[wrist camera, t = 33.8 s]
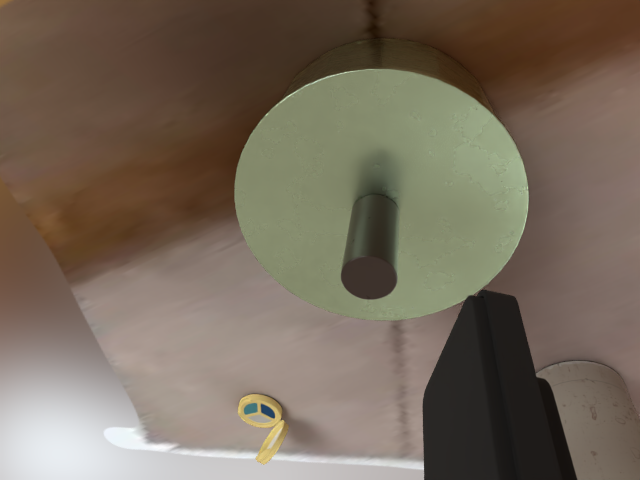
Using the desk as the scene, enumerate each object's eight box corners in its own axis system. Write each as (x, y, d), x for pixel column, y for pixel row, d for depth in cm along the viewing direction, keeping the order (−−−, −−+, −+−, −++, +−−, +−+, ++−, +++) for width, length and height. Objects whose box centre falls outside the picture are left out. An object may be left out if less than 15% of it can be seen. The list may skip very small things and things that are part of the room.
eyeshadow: (251, 388, 50) (237, 432, 46) (295, 410, 51) (285, 455, 47) (232, 409, 52) (217, 453, 48) (274, 430, 53) (263, 475, 49)
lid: (231, 279, 34) (197, 355, 28) (251, 31, 24) (206, 74, 19) (468, 331, 33) (479, 418, 28) (578, 99, 24) (626, 163, 19)
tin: (262, 220, 38) (237, 279, 33) (286, 14, 30) (257, 46, 24) (455, 262, 38) (462, 329, 32) (534, 66, 30) (564, 111, 24)
